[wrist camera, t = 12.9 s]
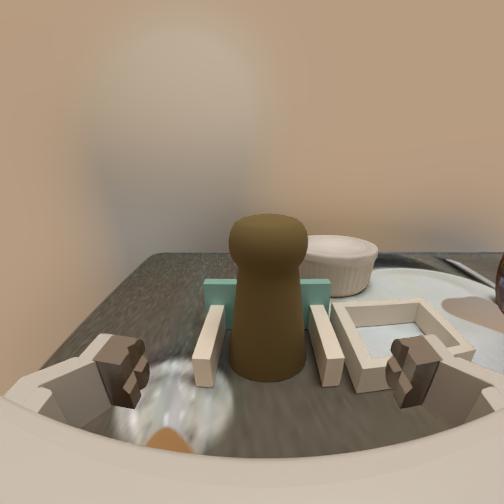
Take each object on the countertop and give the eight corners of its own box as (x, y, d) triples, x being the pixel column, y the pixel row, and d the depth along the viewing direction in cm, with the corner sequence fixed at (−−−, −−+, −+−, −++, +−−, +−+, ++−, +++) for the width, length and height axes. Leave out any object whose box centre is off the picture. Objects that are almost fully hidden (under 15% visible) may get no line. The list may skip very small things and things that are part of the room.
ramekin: (301, 265, 44) (302, 231, 42) (374, 274, 39) (378, 238, 38) (275, 294, 34) (276, 250, 32) (371, 308, 29) (377, 261, 28)
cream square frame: (466, 371, 17) (475, 349, 16) (356, 393, 17) (362, 369, 16) (418, 316, 26) (422, 297, 26) (329, 323, 27) (331, 302, 26)
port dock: (346, 385, 18) (357, 331, 17) (188, 385, 18) (179, 332, 17) (324, 322, 27) (328, 278, 26) (209, 322, 27) (205, 278, 26)
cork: (216, 348, 23) (207, 214, 20) (279, 330, 26) (281, 207, 23) (251, 392, 18) (248, 229, 15) (321, 364, 21) (335, 219, 18)
